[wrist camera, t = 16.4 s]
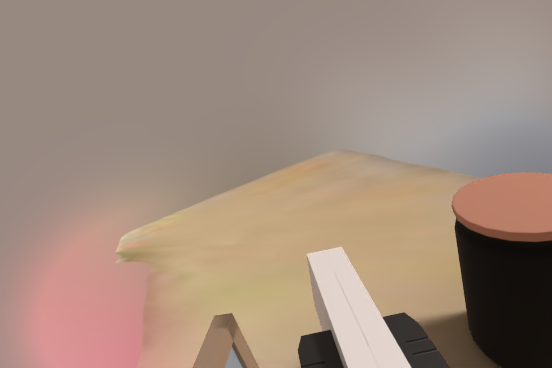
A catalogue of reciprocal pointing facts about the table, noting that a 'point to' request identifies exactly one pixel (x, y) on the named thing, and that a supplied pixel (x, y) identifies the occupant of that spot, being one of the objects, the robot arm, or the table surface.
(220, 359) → the gate leaf
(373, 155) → the table surface
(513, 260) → the coffee jar
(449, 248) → the table surface
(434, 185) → the table surface
